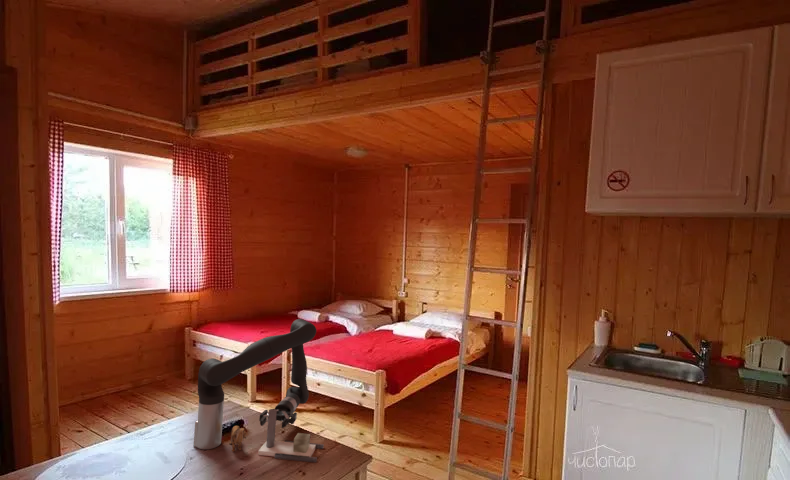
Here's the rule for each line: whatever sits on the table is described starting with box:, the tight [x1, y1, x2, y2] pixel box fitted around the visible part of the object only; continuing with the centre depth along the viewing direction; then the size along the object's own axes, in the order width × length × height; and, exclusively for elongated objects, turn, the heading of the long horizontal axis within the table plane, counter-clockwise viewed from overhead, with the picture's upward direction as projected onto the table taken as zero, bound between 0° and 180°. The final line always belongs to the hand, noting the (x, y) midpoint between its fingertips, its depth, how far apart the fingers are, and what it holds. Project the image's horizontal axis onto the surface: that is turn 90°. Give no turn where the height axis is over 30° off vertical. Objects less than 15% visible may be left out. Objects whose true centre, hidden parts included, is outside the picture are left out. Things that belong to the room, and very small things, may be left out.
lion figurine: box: [228, 425, 249, 452], centre depth 166 cm, size 15×5×9 cm, turn 36°
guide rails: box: [274, 440, 325, 463], centre depth 163 cm, size 16×12×2 cm
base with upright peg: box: [257, 408, 316, 457], centre depth 163 cm, size 20×9×16 cm, turn 86°
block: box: [293, 432, 311, 453], centre depth 163 cm, size 5×5×5 cm
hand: (272, 424), depth 164 cm, fingers open, 8 cm apart
